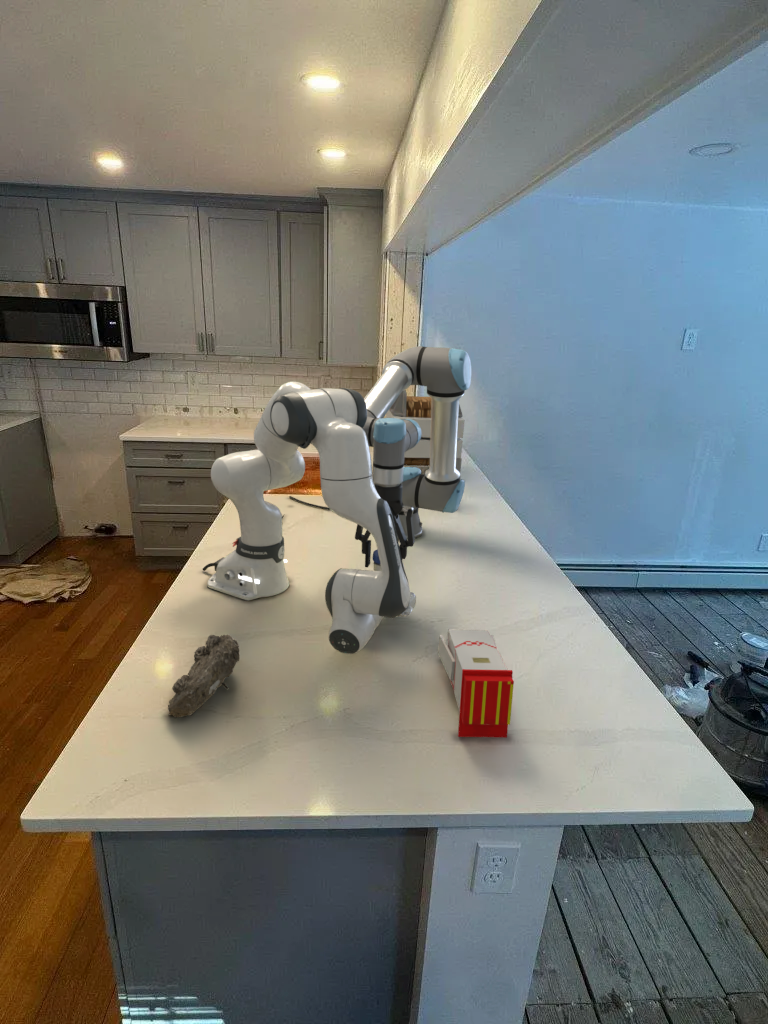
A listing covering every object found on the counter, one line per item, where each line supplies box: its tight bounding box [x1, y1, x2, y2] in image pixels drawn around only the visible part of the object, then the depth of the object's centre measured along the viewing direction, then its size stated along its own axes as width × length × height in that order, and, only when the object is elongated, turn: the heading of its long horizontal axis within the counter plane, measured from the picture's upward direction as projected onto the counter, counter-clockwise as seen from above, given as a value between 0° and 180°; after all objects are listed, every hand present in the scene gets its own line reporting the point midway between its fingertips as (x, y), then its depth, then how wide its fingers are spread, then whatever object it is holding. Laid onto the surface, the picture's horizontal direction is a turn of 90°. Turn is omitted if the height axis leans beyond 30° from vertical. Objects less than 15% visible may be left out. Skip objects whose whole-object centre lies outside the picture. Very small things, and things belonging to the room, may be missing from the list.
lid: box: [372, 549, 380, 564], centre depth 145 cm, size 6×6×2 cm
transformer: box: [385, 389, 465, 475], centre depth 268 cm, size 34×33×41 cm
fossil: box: [167, 634, 241, 718], centre depth 115 cm, size 22×10×15 cm
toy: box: [437, 628, 515, 738], centre depth 117 cm, size 12×13×30 cm
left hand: (383, 584), depth 149 cm, fingers closed on jar, 5 cm apart
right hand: (383, 567), depth 146 cm, fingers open, 8 cm apart
